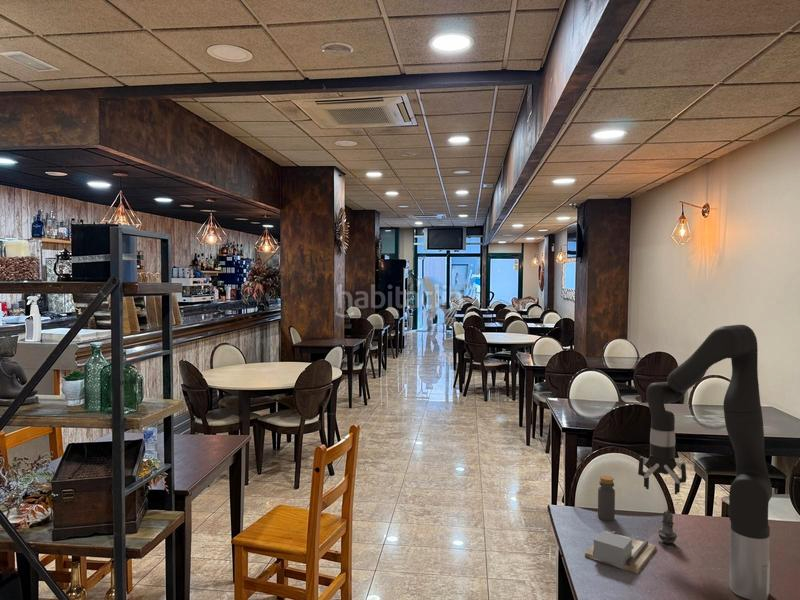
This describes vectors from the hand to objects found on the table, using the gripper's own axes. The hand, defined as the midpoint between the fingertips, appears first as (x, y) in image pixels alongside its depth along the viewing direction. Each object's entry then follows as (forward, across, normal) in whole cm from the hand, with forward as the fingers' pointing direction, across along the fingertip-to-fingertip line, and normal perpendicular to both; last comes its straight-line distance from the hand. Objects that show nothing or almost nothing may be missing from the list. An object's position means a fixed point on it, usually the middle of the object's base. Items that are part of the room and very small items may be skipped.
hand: (661, 491), depth 181 cm
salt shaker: (+18, +2, +2) cm, 19 cm away
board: (+18, -11, -12) cm, 24 cm away
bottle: (+18, -20, +14) cm, 30 cm away
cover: (+17, -12, -20) cm, 29 cm away
